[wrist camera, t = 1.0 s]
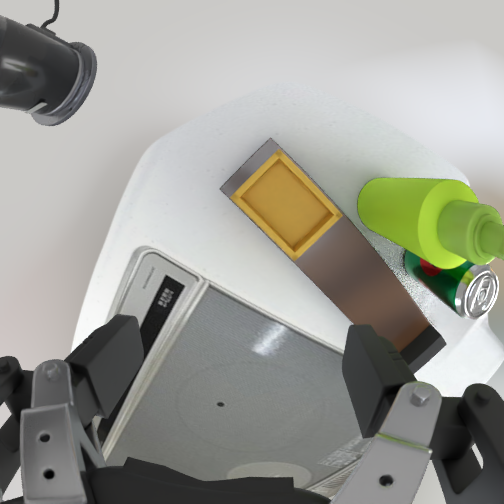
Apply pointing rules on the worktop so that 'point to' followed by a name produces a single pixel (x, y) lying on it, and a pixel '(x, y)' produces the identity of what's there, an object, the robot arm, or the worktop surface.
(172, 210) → the worktop surface
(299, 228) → the tray
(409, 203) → the soap dispenser
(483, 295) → the soda can
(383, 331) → the board
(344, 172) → the worktop surface
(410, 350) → the end stop
